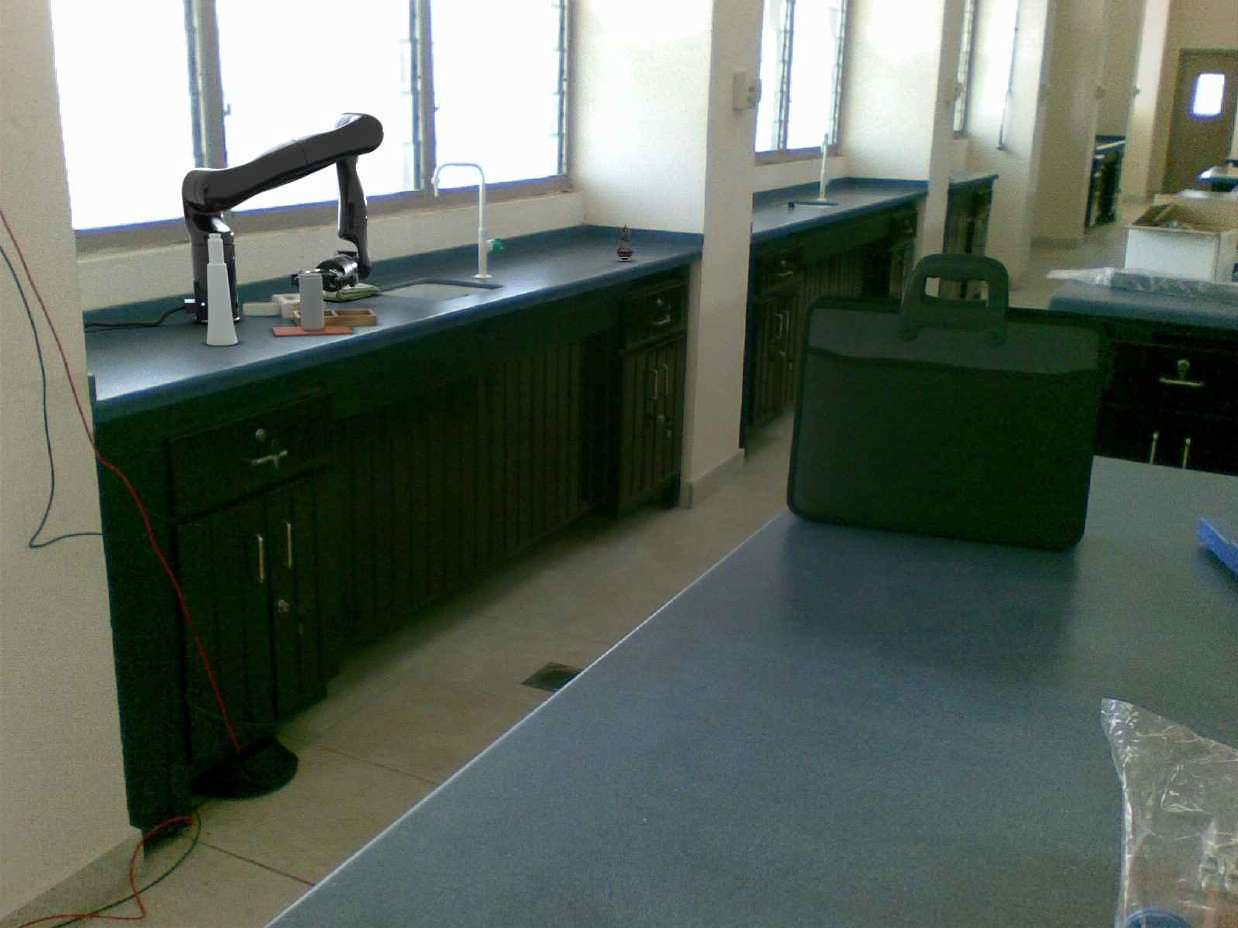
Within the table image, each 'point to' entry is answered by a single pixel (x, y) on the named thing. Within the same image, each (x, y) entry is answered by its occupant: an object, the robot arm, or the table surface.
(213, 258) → the cosmetic bottle
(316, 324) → the grey rectangular block
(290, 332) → the mat
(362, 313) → the wooden compartment tray
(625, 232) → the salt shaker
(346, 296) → the washcloth
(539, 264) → the table surface
